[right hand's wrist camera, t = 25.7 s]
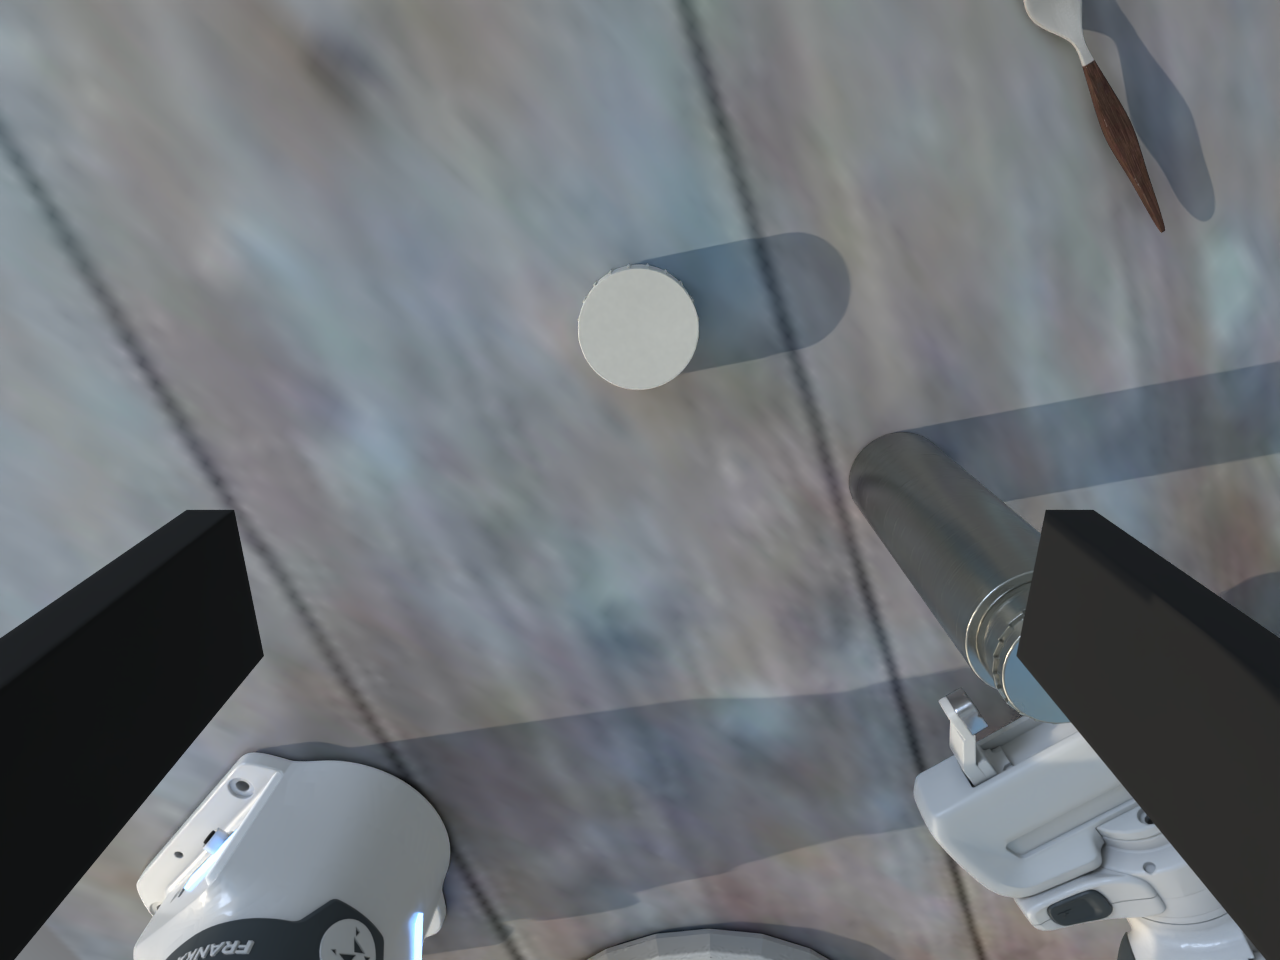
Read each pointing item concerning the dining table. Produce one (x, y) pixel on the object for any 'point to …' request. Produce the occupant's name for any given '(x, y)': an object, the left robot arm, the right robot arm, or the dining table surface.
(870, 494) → the jar
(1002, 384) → the dining table surface
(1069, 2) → the fork
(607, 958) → the wall clock
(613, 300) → the lid
